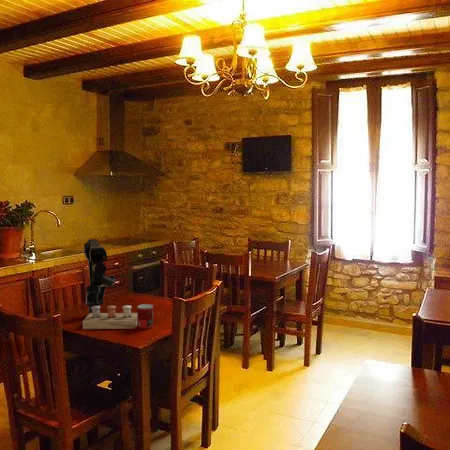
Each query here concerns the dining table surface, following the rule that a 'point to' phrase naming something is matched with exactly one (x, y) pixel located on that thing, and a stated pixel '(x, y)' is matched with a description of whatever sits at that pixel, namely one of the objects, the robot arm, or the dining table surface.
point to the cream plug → (127, 311)
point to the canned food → (145, 316)
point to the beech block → (110, 321)
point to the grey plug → (95, 311)
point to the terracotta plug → (111, 311)
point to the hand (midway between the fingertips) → (98, 302)
